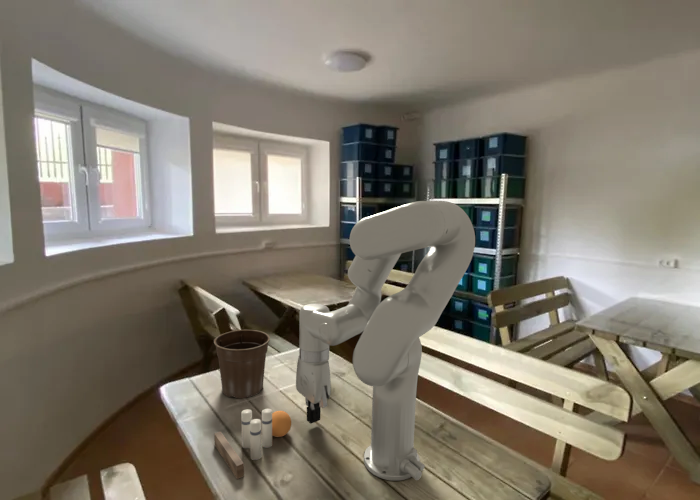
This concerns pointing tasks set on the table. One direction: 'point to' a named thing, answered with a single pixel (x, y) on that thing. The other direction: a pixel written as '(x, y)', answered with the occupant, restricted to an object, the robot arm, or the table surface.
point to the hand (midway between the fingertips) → (313, 420)
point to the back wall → (229, 455)
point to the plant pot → (242, 361)
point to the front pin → (267, 428)
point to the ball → (280, 423)
